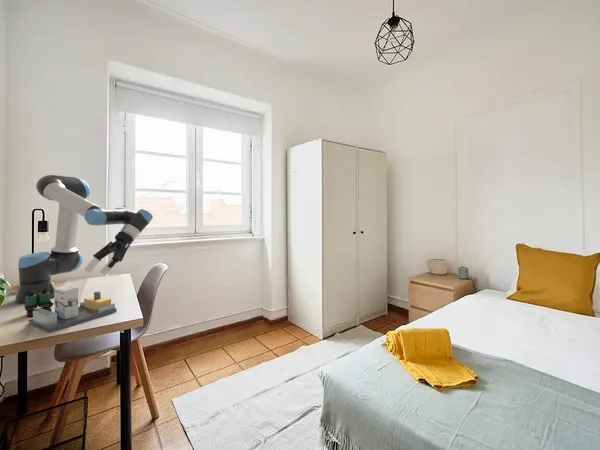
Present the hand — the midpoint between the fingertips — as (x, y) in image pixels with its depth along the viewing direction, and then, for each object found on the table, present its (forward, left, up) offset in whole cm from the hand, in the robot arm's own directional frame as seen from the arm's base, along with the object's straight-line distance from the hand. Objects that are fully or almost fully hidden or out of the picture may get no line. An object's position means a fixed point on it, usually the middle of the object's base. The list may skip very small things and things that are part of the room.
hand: (94, 272), depth 122 cm
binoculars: (-19, -13, -18) cm, 29 cm away
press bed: (0, -8, -18) cm, 19 cm away
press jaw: (0, +1, -16) cm, 16 cm away
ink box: (0, -11, -16) cm, 19 cm away
